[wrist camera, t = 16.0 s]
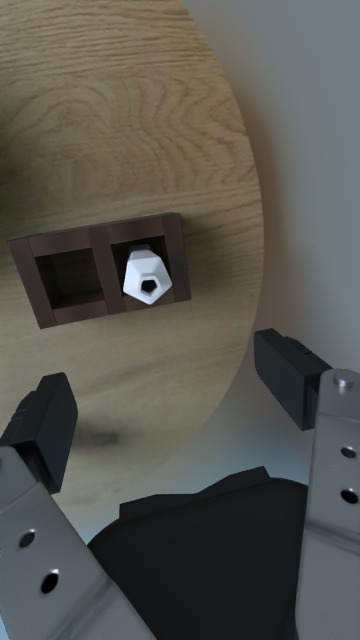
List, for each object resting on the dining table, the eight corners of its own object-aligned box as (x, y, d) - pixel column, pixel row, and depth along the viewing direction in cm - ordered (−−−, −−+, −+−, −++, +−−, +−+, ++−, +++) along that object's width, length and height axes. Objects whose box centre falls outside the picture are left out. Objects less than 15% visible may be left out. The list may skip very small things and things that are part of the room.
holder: (171, 212, 36) (179, 212, 30) (182, 286, 40) (191, 299, 34) (26, 235, 34) (6, 241, 28) (52, 311, 38) (40, 329, 32)
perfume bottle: (164, 250, 37) (186, 276, 24) (148, 279, 38) (161, 319, 25) (133, 232, 36) (138, 248, 22) (118, 262, 37) (113, 295, 23)
